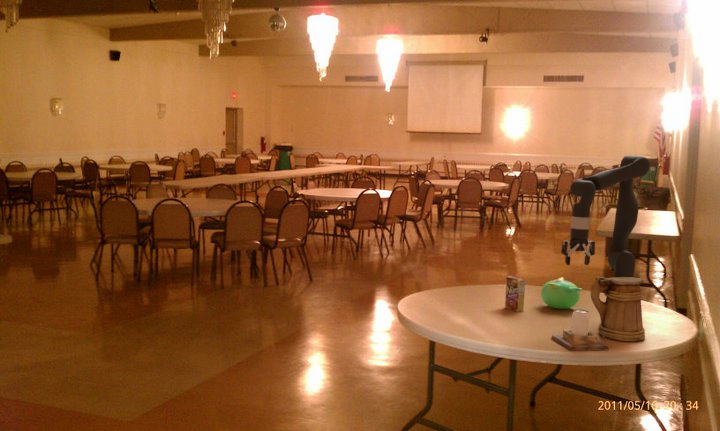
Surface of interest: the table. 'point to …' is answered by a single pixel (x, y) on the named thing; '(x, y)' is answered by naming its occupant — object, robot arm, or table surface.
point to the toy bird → (560, 294)
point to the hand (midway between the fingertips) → (577, 264)
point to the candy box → (515, 293)
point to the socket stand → (579, 341)
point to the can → (580, 322)
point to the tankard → (619, 308)
